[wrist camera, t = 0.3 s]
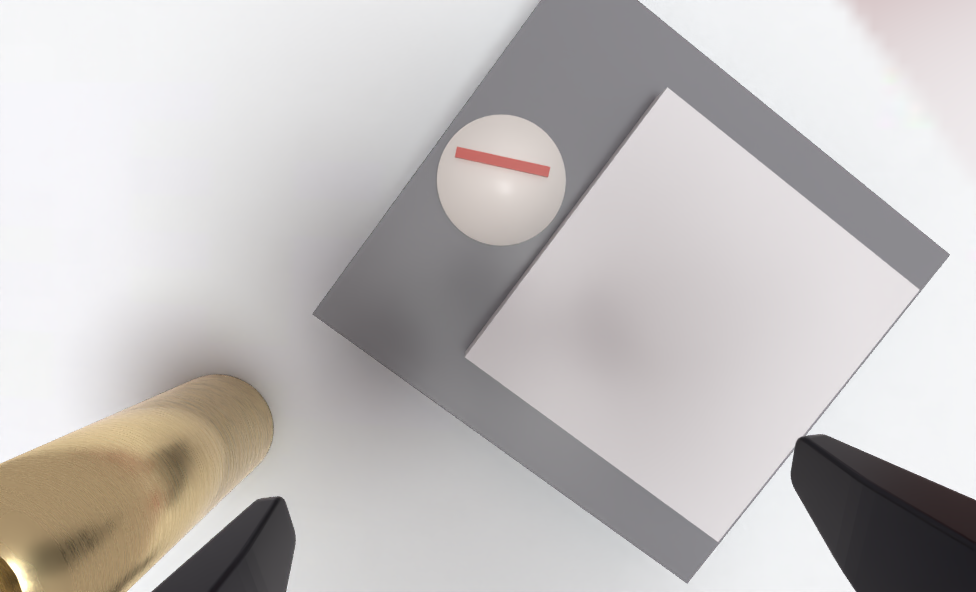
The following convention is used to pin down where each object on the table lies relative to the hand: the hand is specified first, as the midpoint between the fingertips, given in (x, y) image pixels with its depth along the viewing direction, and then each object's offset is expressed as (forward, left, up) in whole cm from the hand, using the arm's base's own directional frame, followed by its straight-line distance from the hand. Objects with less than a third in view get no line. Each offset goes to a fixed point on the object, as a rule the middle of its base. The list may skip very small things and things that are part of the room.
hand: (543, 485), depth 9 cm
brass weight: (-11, +8, -15) cm, 21 cm away
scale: (+6, -3, -15) cm, 17 cm away
